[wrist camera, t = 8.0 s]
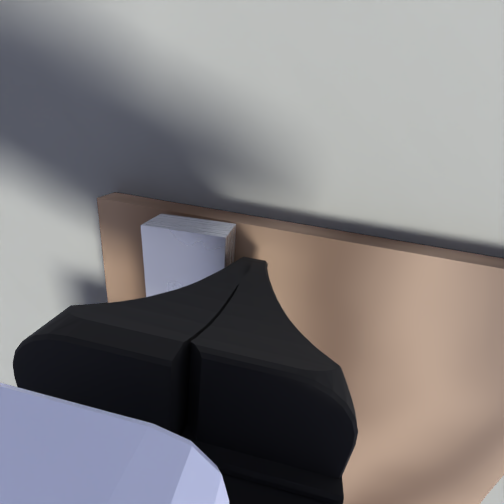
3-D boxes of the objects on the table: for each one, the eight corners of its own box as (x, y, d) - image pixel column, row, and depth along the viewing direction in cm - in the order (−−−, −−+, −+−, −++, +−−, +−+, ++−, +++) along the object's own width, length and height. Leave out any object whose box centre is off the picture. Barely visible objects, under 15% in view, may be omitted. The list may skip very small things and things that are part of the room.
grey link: (230, 489, 18) (223, 519, 16) (163, 472, 18) (151, 499, 17) (254, 226, 11) (246, 240, 9) (144, 211, 11) (121, 222, 10)
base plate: (136, 460, 21) (95, 540, 17) (114, 192, 13) (23, 221, 9) (419, 541, 19) (450, 657, 15) (617, 277, 10) (816, 372, 6)
